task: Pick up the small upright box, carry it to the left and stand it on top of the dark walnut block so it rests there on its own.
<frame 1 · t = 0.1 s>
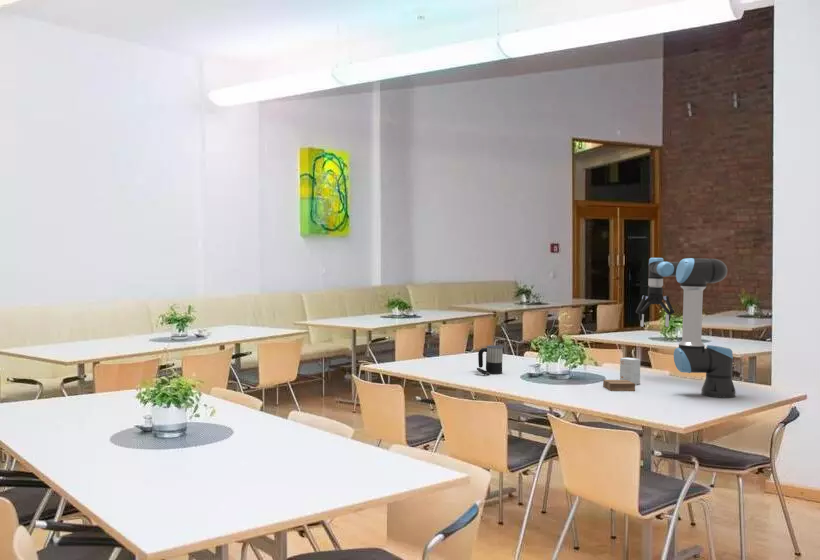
hand: (654, 326, 437), 28 cm above the table, tool pointing down, fingers open, 13 cm apart
small box: (629, 384, 419), on the table
milk frother: (489, 374, 445), on the table
walnut block: (618, 389, 402), on the table
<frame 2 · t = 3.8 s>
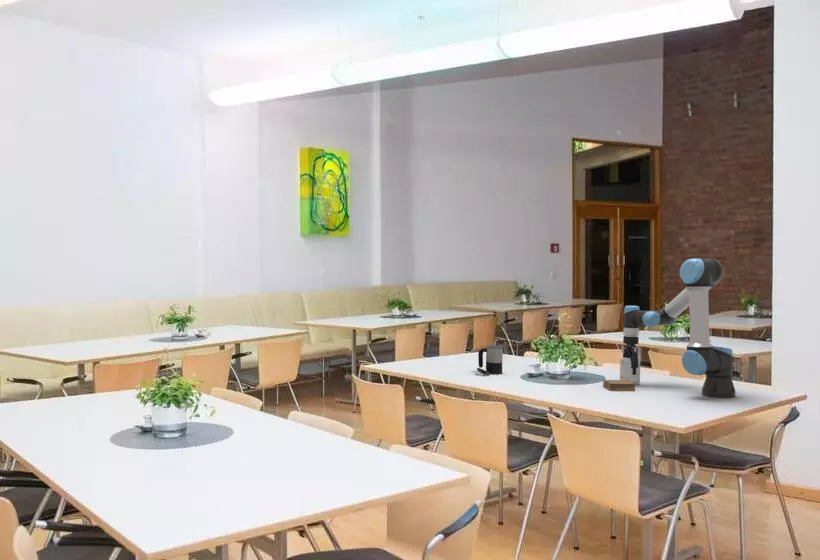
hand: (629, 379, 419), 2 cm above the table, tool pointing down, fingers closed on small box, 10 cm apart
small box: (629, 384, 419), on the table, touching gripper
everything else where it was.
when the fingers open (7 cm above the table, at t = 9.6 s): small box drops 1 cm, resting on walnut block.
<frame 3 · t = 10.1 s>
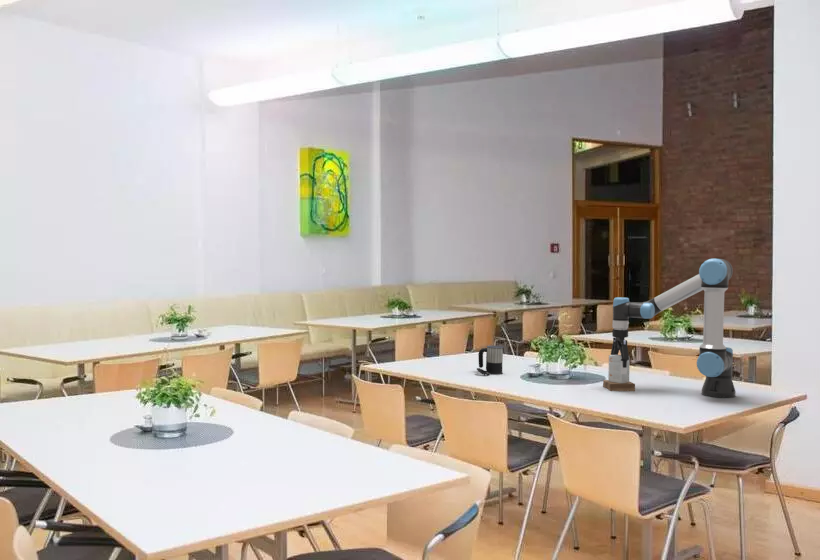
hand: (619, 372, 402), 8 cm above the table, tool pointing down, fingers open, 13 cm apart
small box: (618, 382, 402), point 3 cm above the table, touching walnut block
walnut block: (618, 390, 402), on the table, touching small box
everything else where it was.
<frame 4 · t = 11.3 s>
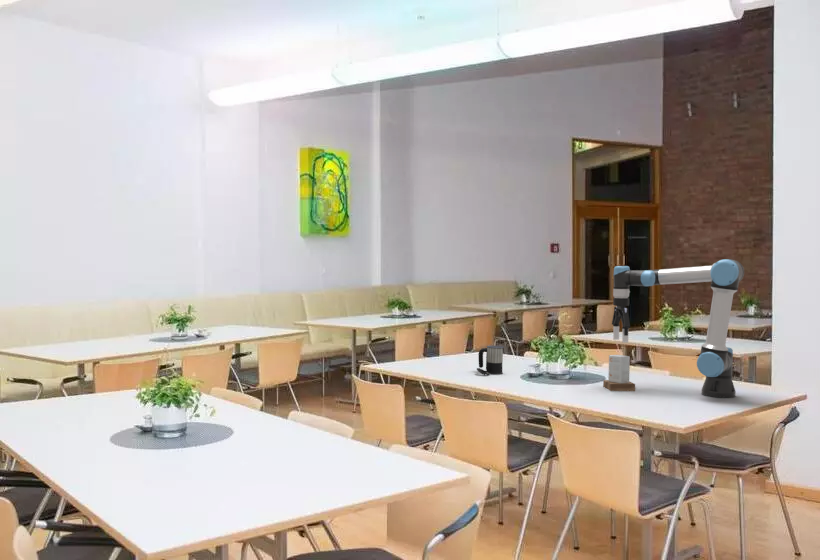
hand: (620, 340, 401), 24 cm above the table, tool pointing down, fingers open, 13 cm apart
nothing on the table moved.
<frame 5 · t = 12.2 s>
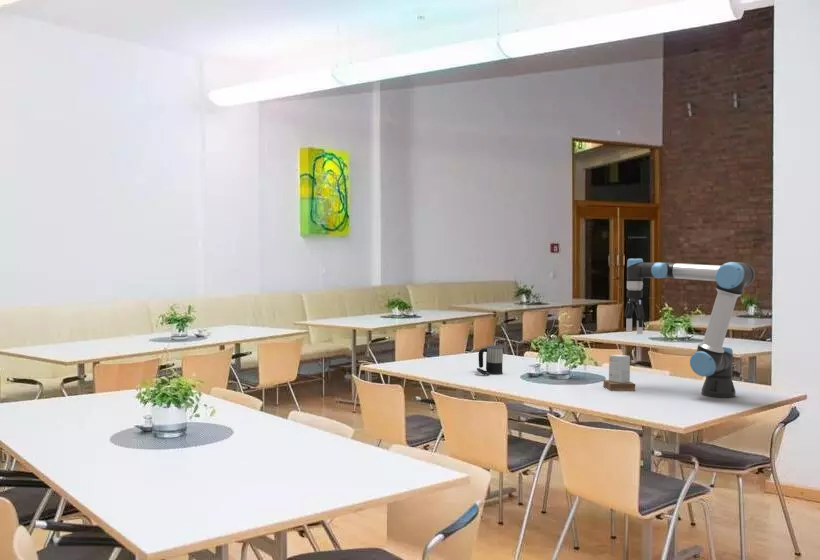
hand: (634, 332, 405), 27 cm above the table, tool pointing down, fingers open, 13 cm apart
nothing on the table moved.
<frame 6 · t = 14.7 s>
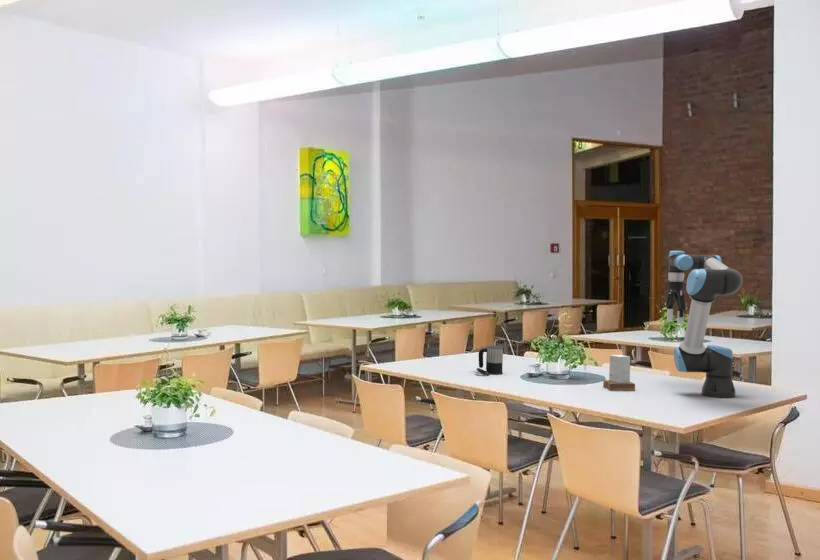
hand: (674, 322, 418), 32 cm above the table, tool pointing down, fingers open, 13 cm apart
at the end: small box inside the target area on the walnut block (0.5 cm from its centre), point 3.8 cm above the walnut block's base; small box tilted 0°; the gripper is holding nothing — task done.
